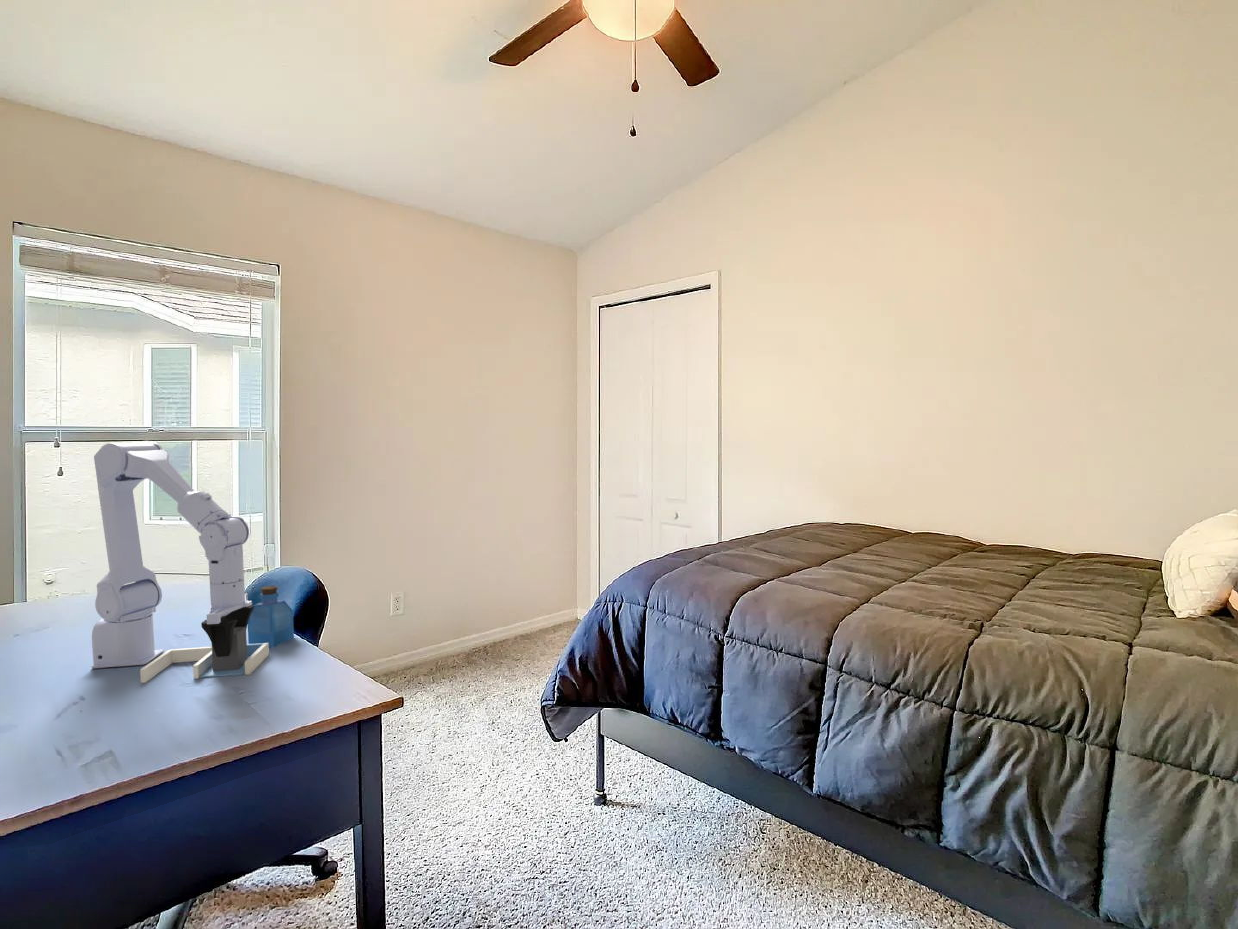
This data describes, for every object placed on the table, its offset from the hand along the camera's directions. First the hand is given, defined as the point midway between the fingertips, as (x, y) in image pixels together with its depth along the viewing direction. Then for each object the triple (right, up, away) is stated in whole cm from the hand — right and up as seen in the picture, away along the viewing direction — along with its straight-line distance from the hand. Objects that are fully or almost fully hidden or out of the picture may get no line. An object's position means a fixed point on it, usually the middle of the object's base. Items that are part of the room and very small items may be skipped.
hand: (230, 649), depth 126 cm
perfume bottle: (0, -3, +15) cm, 16 cm away
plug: (0, -3, 0) cm, 3 cm away
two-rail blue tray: (-4, -4, -1) cm, 6 cm away
